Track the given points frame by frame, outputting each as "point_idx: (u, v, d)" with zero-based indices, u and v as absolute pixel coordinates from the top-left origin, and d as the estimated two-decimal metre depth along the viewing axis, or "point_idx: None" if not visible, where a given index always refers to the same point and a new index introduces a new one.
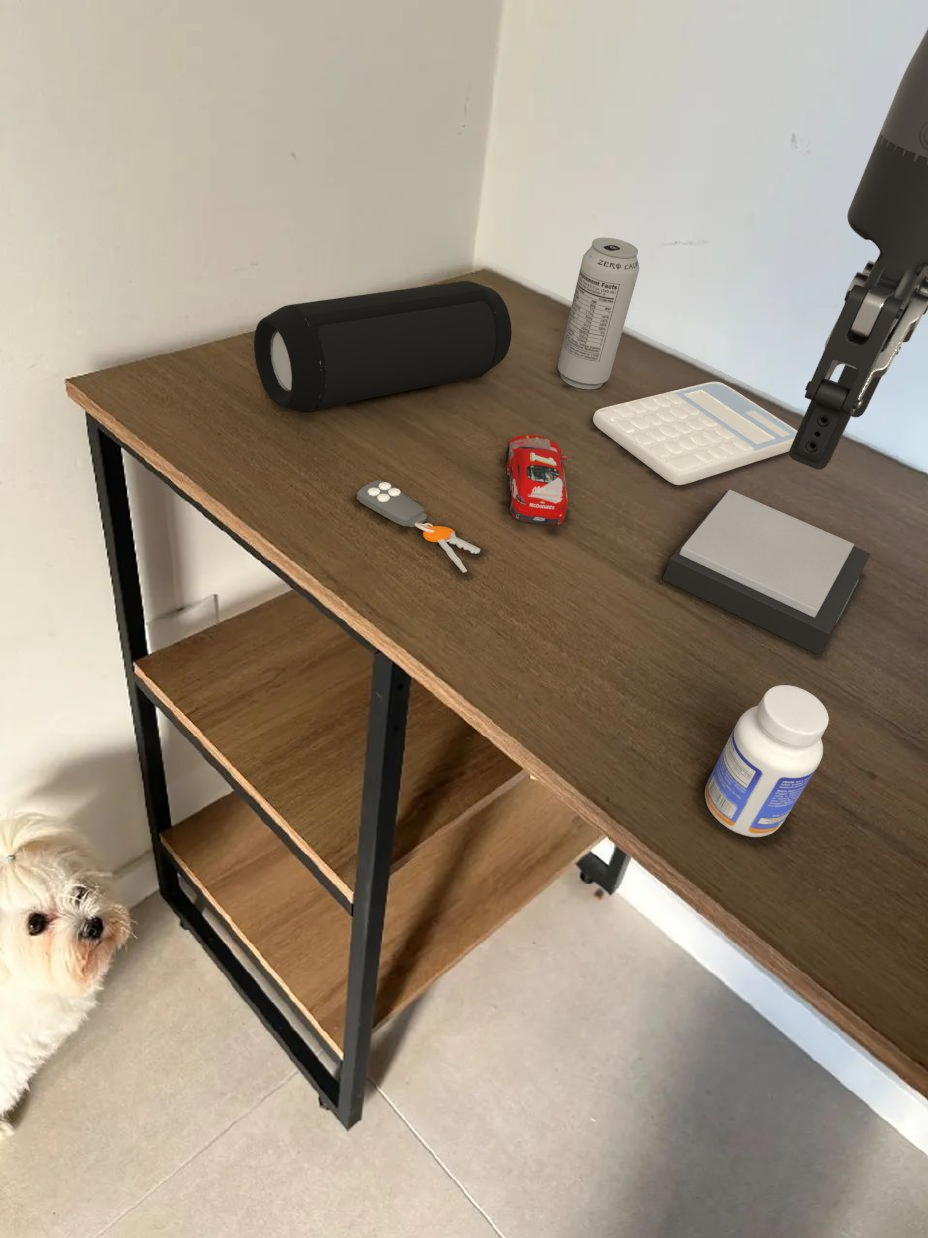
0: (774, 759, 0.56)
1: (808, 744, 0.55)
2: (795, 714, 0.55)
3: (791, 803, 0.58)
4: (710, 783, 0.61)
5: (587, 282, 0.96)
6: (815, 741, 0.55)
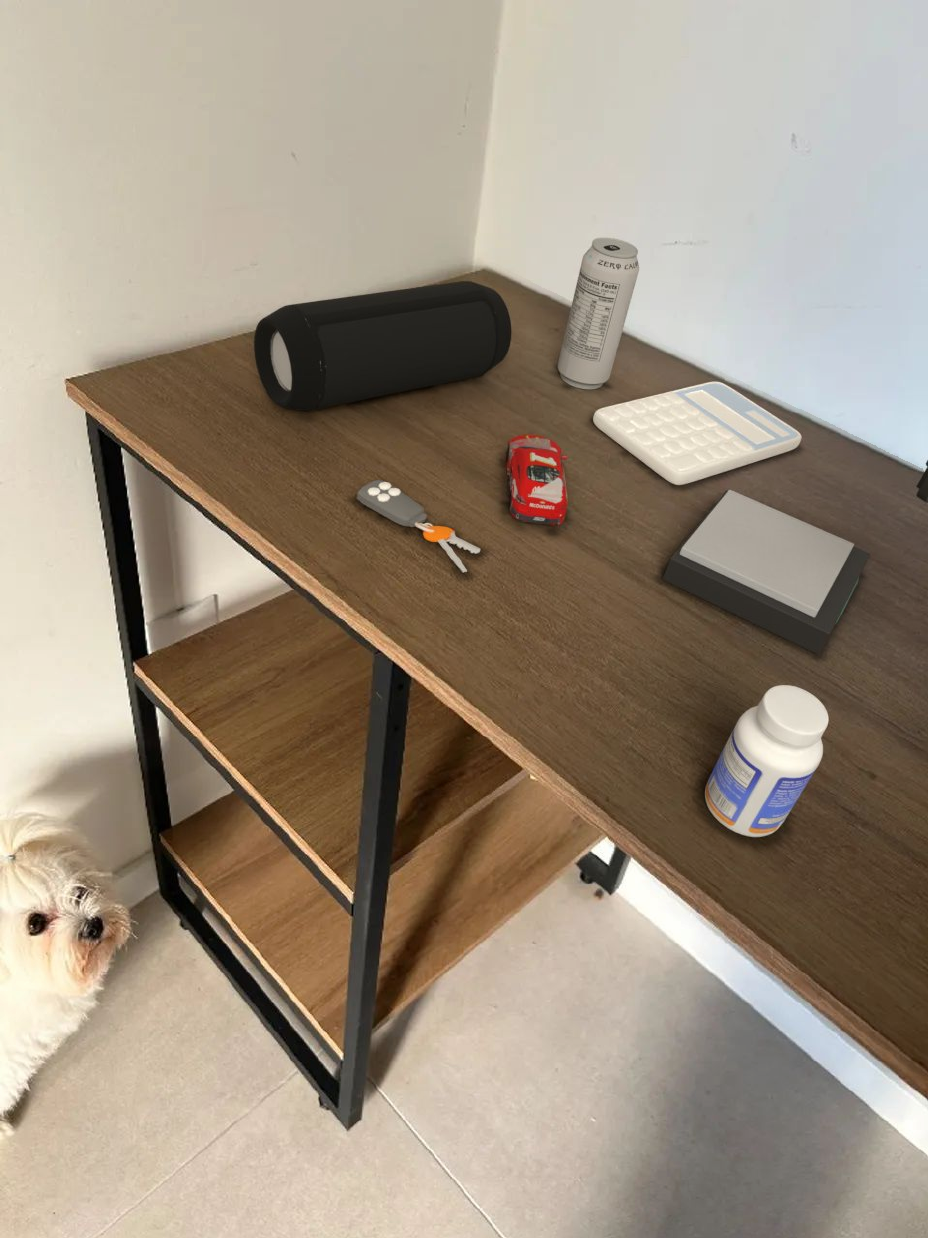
0: (774, 759, 0.56)
1: (808, 744, 0.55)
2: (795, 714, 0.55)
3: (791, 803, 0.58)
4: (710, 783, 0.61)
5: (587, 282, 0.96)
6: (815, 741, 0.55)
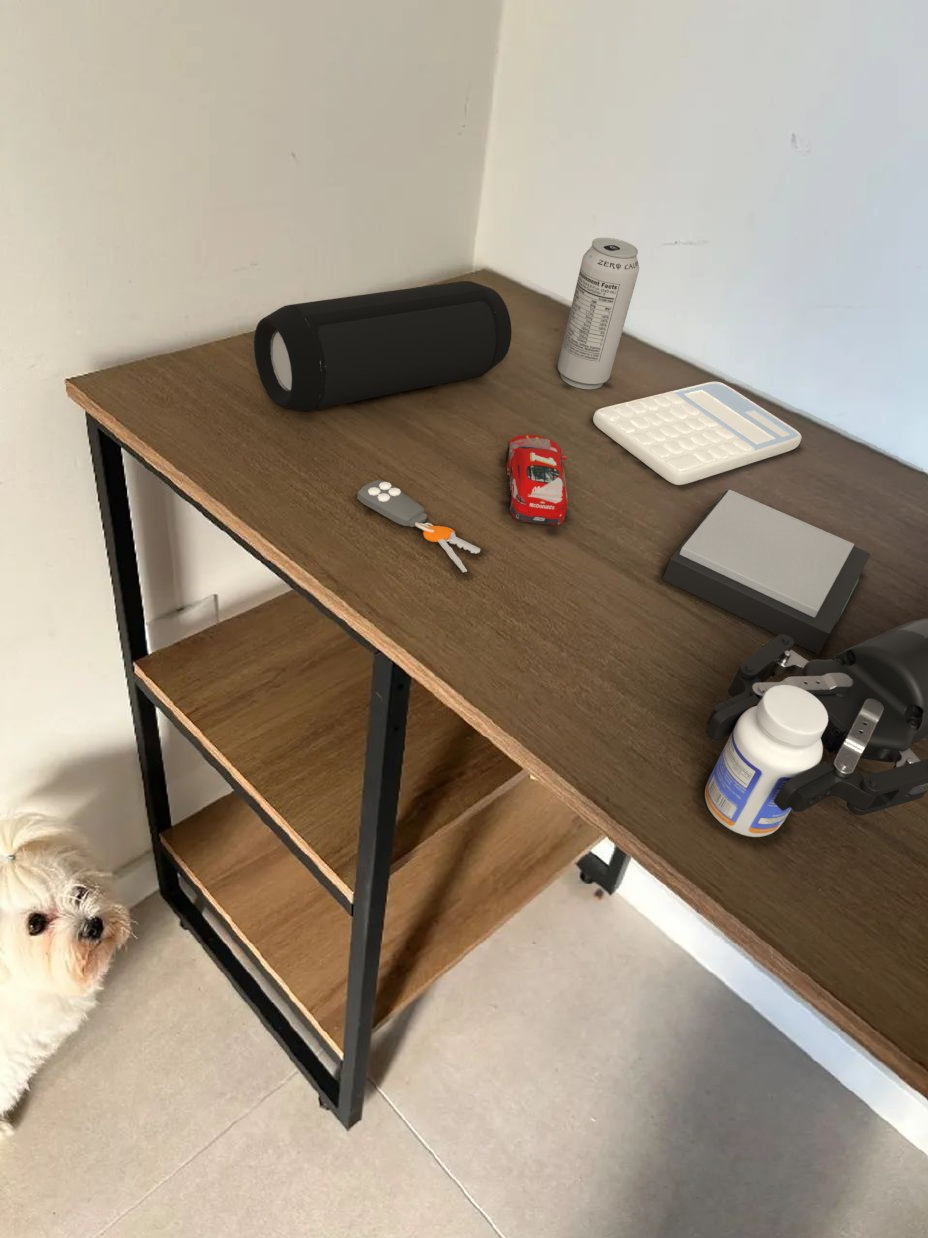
0: (774, 759, 0.56)
1: (807, 743, 0.55)
2: (795, 714, 0.55)
3: None
4: (710, 783, 0.61)
5: (587, 282, 0.96)
6: (815, 741, 0.55)
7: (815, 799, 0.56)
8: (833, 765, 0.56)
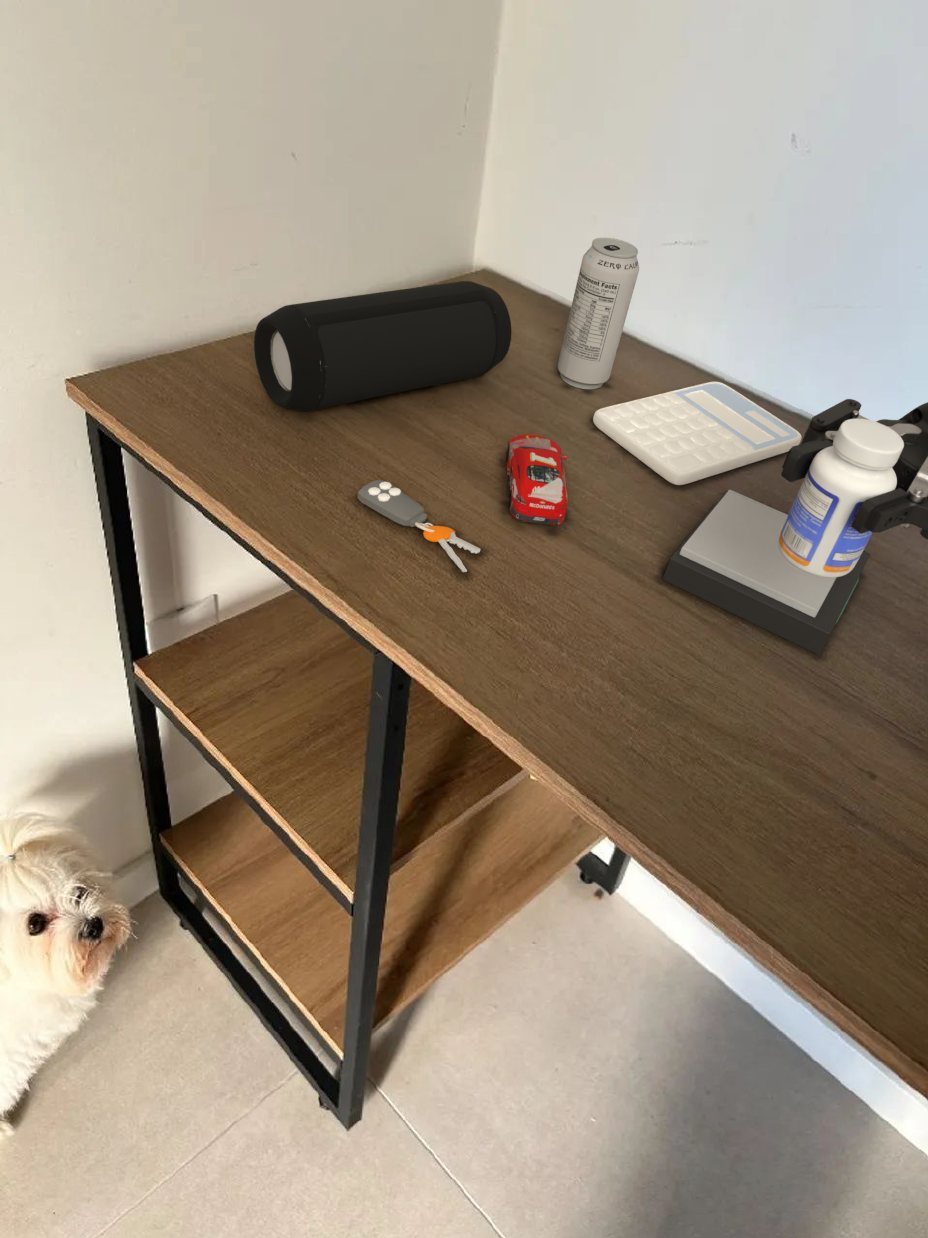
0: (851, 483, 0.58)
1: (884, 464, 0.57)
2: (872, 438, 0.58)
3: (865, 537, 0.61)
4: (784, 529, 0.64)
5: (587, 282, 0.96)
6: (891, 463, 0.58)
7: (891, 520, 0.58)
8: (908, 491, 0.59)
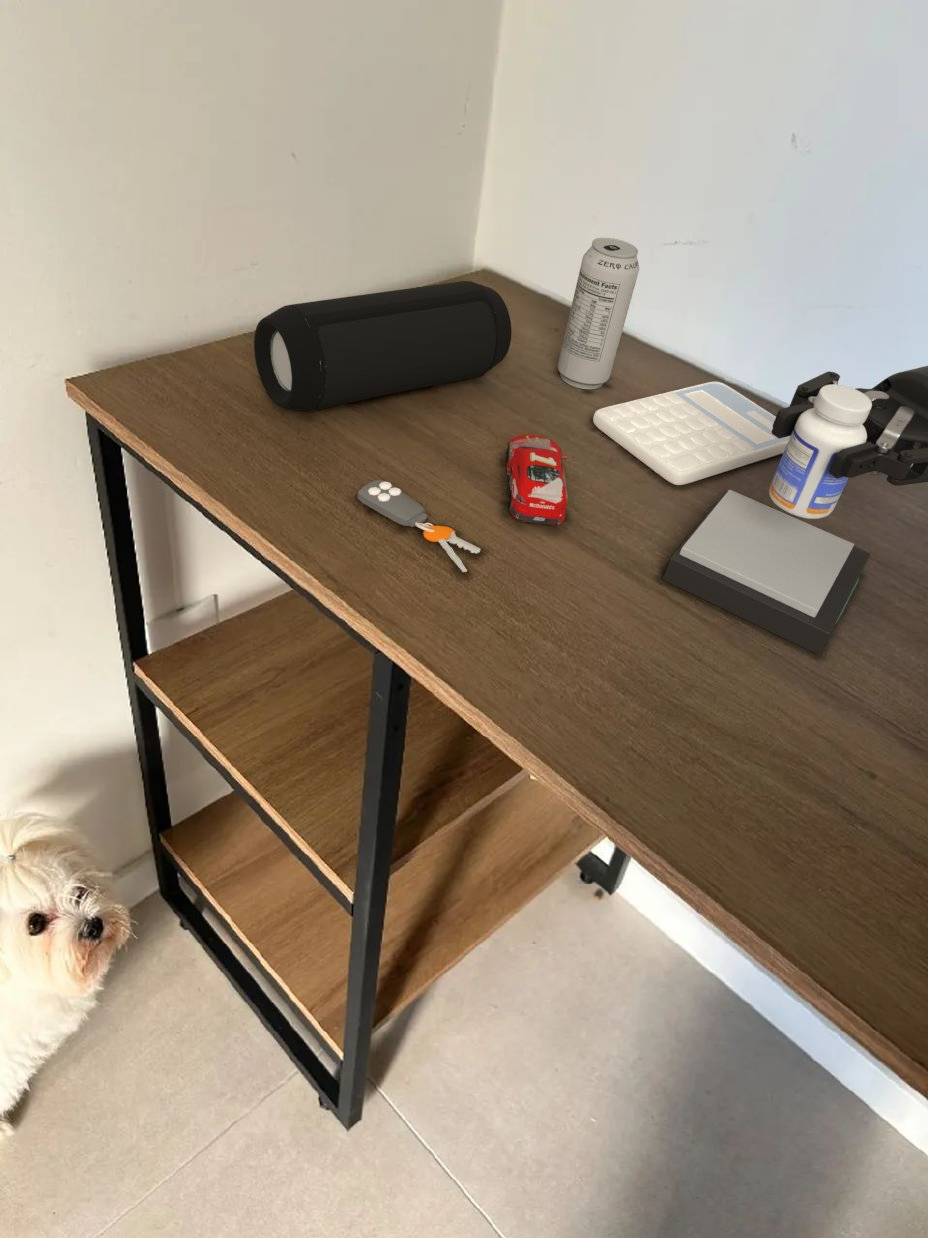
0: (829, 436, 0.70)
1: (856, 421, 0.70)
2: (846, 399, 0.70)
3: (841, 483, 0.73)
4: (774, 479, 0.76)
5: (587, 282, 0.96)
6: (861, 420, 0.70)
7: (862, 467, 0.70)
8: (875, 444, 0.71)
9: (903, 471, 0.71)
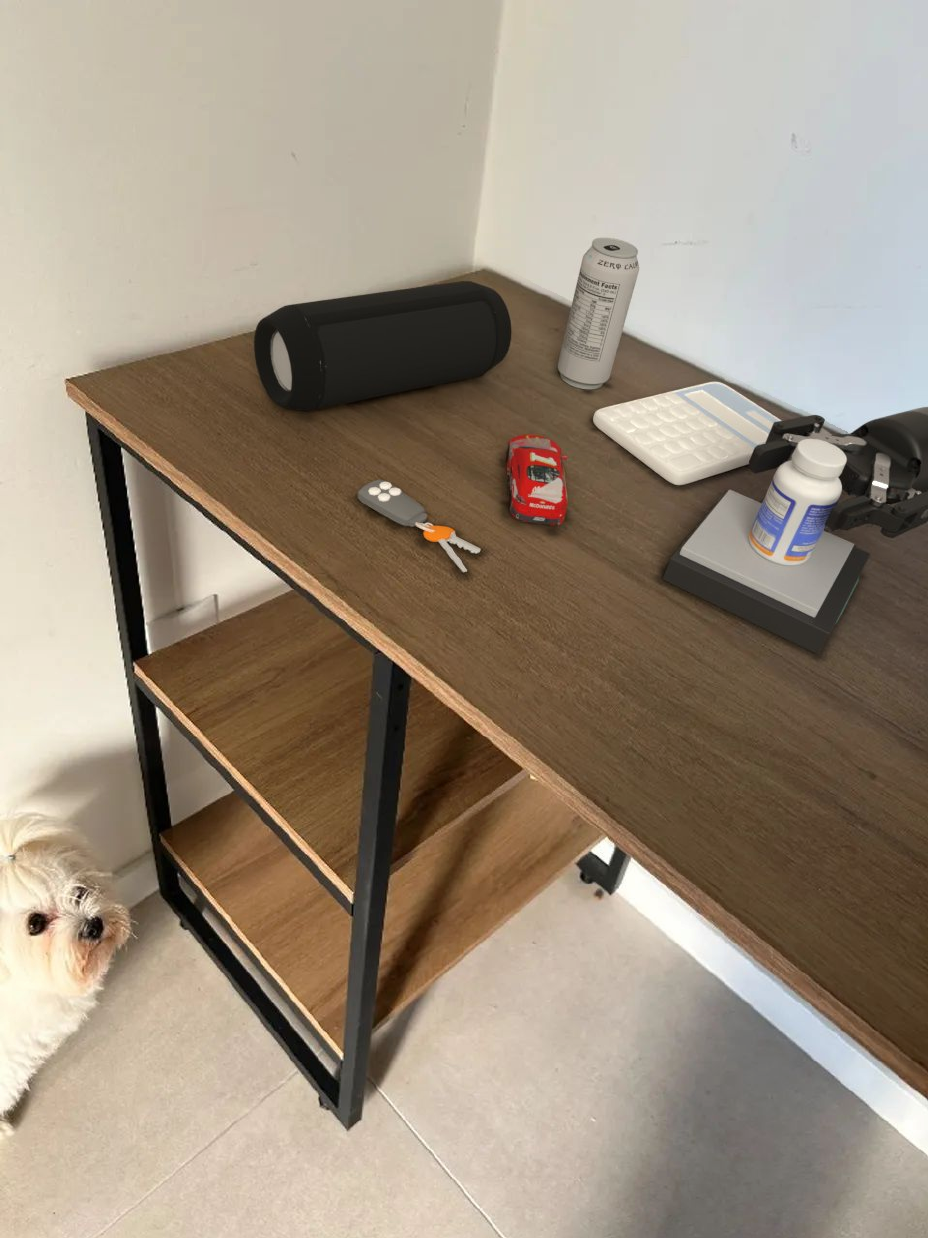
0: (805, 489, 0.74)
1: (831, 475, 0.73)
2: (821, 454, 0.73)
3: (817, 532, 0.76)
4: (753, 526, 0.79)
5: (587, 282, 0.96)
6: (836, 474, 0.73)
7: (857, 521, 0.73)
8: (870, 498, 0.73)
9: (898, 524, 0.73)
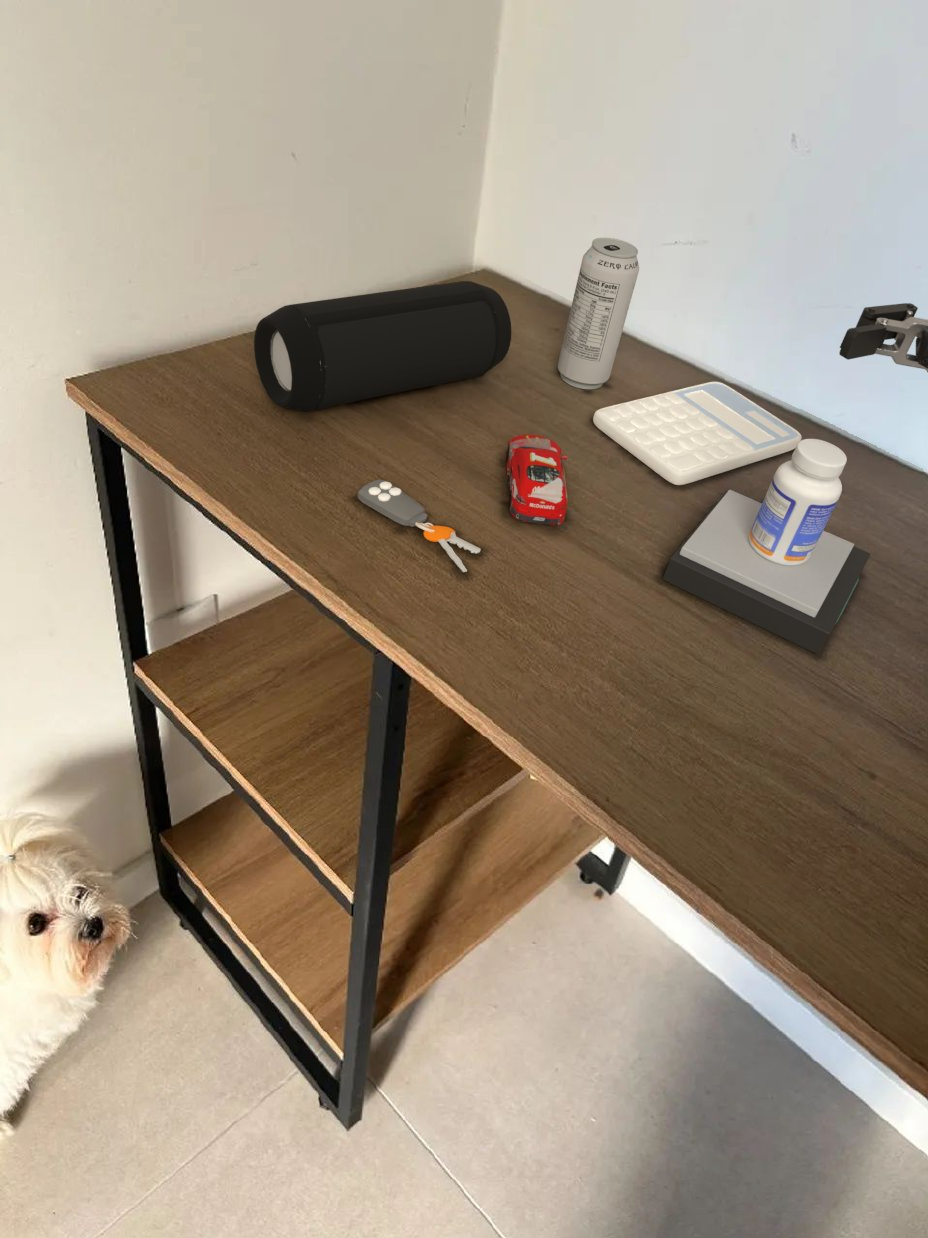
0: (805, 489, 0.74)
1: (831, 475, 0.73)
2: (822, 454, 0.73)
3: (817, 532, 0.76)
4: (753, 526, 0.79)
5: (587, 282, 0.96)
6: (836, 474, 0.73)
7: None
8: None
9: None
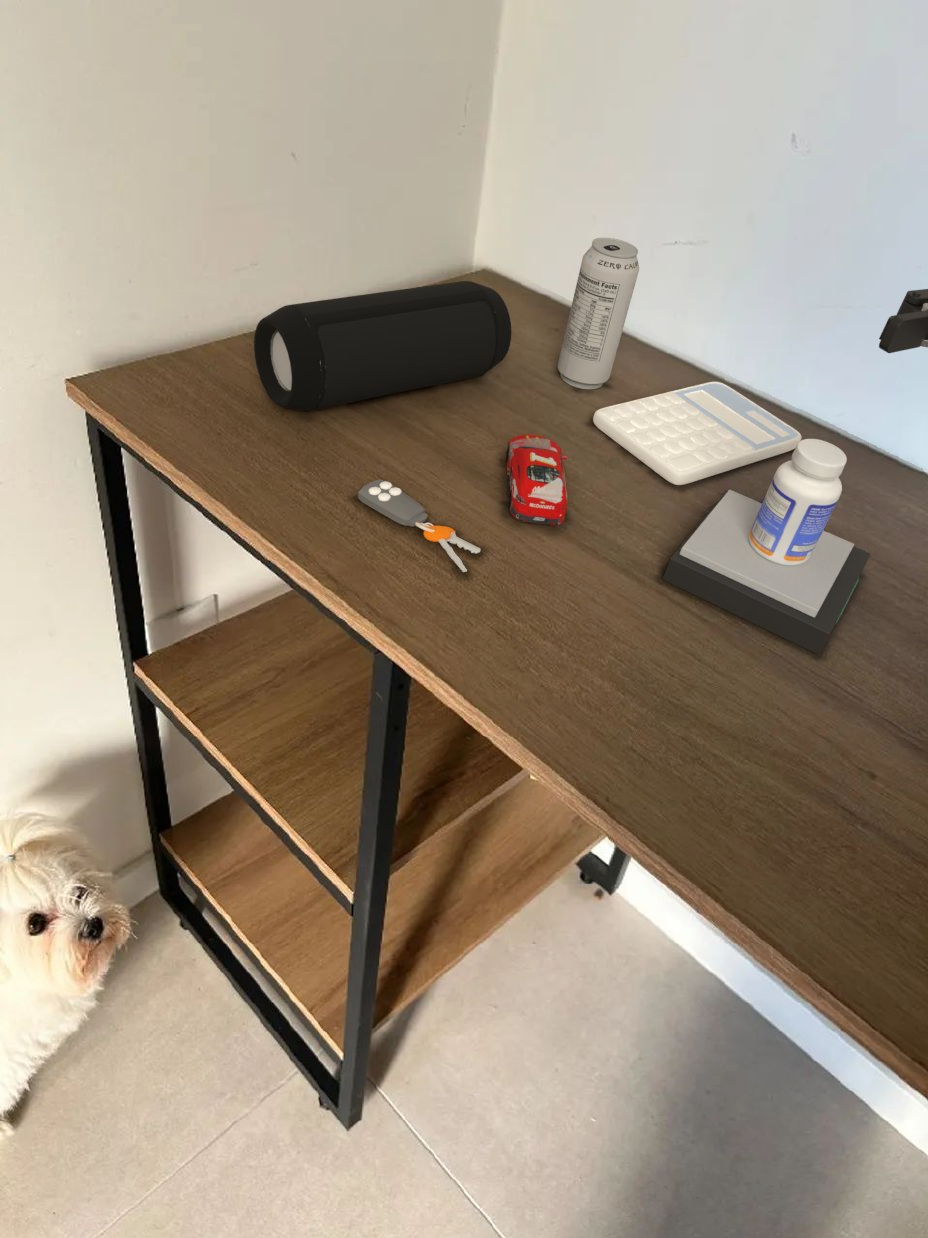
0: (805, 489, 0.74)
1: (831, 475, 0.73)
2: (822, 454, 0.73)
3: (817, 532, 0.76)
4: (753, 526, 0.79)
5: (587, 282, 0.96)
6: (836, 474, 0.73)
7: None
8: None
9: None
